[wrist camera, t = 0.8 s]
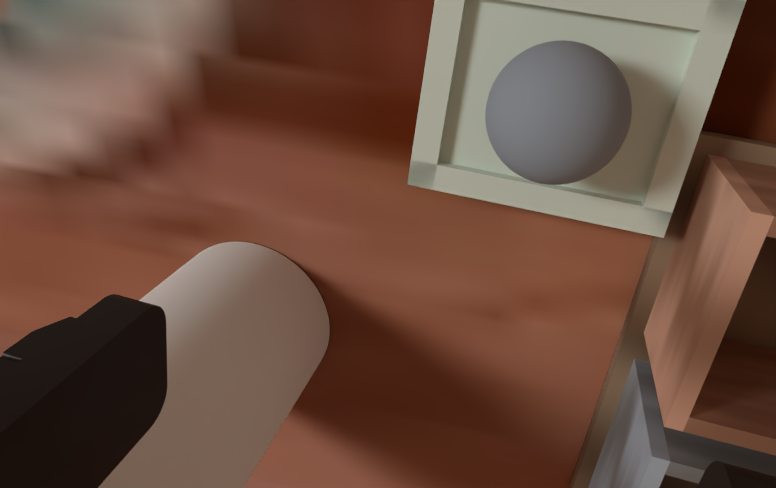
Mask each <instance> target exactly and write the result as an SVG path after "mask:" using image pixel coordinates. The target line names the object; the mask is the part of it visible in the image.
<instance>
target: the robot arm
mask: <svg viewBox="0 0 776 488" xmlns="http://www.w3.org/2000/svg"><path fill="white" fill-rule="evenodd" d="M166 394H167V339H166V316H165V313H164V310H163V309H162V308H161V307H159V306H156V305H153V304H149V303H145V302H142V301H138V300H134V299H131V298H127V297H123V296H120V295H115V294H113V295H109V296H107V297H105V298H104V299H102V300H101V301H99V302H98V303H97V304H95V305H94V306H93V307H91V308H90V309H89V310H87V311H86V312H85V313H83V314H82V315H81V316H79V317H78V318H77V319H76V318H73V317H68V318H66V319H63V320H61V321H58V322H55V323H53V324H50V325H48V326H45V327H43V328H40V329H37V330H35V331H33V332H31V333H30V334H28V335H27V336H25V337H24V338H23V339H21V340H20V341H18V342H17V343H16V344H14V345H13V346H11V347H10V348H8V349H7V350H6V351H4V352H3V355H2V357H0V488H98V487H99V486H100V485H101V484H102V483H103V481H104V480H105V479H106V478H107V477H108V476H109V475H110V474H111V472H112V471H113V470H114V469H115V468H116V467H117V466H118V464H119V463H120V462H121V461H122V460H123V459H124V458H125V456H126V455H127V454H128V453H129V452H130V451H131V450H132V448H133V447H134V446H135V445H136V444H137V443H138V442H139V440H140V439H141V438H142V437H143V436H144V435H145V434H146V433H147V431H148V430H149V429H150V428H151V427H152V425H153V424H154V423H155V421H156V420H157V418H158V416H159V414H160V412H161V410H162V407H163V405H164V402H165V398H166ZM697 488H776V477H775V476H771V475H768V474H764V473H760V472H757V471H753V470H749V469H746V468H742V467H738V466H735V465H731V464H728V463H724V462H720V461H714V462H712V463H711V464H710V465H709V466H708V467H707V469H706V470H705V472H704V474H703V476H702V478H701V480H700V482H699V484H698V486H697Z"/></svg>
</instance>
